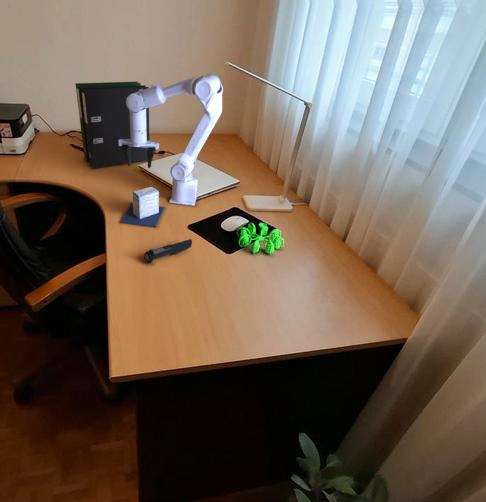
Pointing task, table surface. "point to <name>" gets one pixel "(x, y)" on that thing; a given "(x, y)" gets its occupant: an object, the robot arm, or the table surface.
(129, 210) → the cloth
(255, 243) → the green cluster
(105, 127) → the binder
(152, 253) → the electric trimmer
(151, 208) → the medicine box
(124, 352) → the table surface
